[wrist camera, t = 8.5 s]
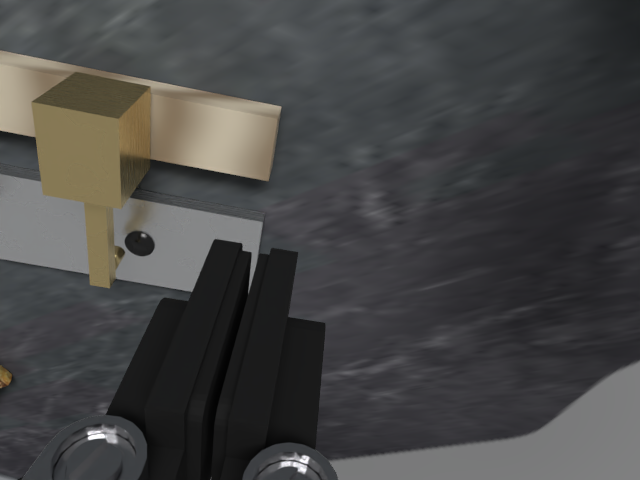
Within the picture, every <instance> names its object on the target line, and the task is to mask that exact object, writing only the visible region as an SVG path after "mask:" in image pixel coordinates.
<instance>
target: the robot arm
mask: <svg viewBox="0 0 640 480" xmlns="http://www.w3.org/2000/svg"><path fill="white" fill-rule="evenodd" d="M297 257H298V252H293V251H287V250H281V249H275V248H271V251H270V255H267V254H261V253H260V254H259V257H258V261H257V264H256V268H255V272H254V275H253V279H252V283H251V286H250V290H249V280H250V269H251V258H252V252H248V251H243V245H242V243H238V242H232V241H226V240H219V239H214V241H213V243H212V245H211V247H210V250H209V252H208V255H207V257H206V260H205V262H204V264H203V267H202V269H201V272H200V274H199V277H198V279H197V281H196V284H195V286H194V289H193V291H192V294H191V296H190V298H189V301H183V300H176V299H170V298H163V299H162V300H161V301H160V303H159V305H158V306H157V309H156V311H155V313H154V315H153V317H152V319H151V321H150V323H149V325H148V327H147V329H146V332H145V334H144V336H143V338H142V340H141V342H140V344H139V346H138V348H137V350H136V352H135V355H134V357H133V359H132V361H131V363H130V365H129V367H128V369H127V371H126V373H125V375H124V378H123V380H122V382H121V384H120V386H119V388H118V390H117V392H116V394H115V396H114V398H113V401H112V403H111V405H110V407H109V409H108V411H107V413H106V415H100V416H91V417H88V418H85V419H82V420H79V421H77V422H74V423H73V424H71V425H69V426H68V427H66V428H65V429H63V430H62V431H60V432H59V433H58V434H57V435H56V436H55V437H54V438H53V439H52V440H51V441H50V442H49V443H48V445H47V446H46V447H45V449H44V450H43V451H42V453H41V454H40V455H39V457H38V458H37V459H36V461H35V462H34V463H33V465H32V466H31V467H30V469H29V470H28V472H27V473H26V474H25V476H24V477H22V478H20V479H18V480H210V479H211V480H338V477H337V474H336V472H335V470H334V469H333V467H332V466H331V464H330V462H329V461H328V460H327V459H326V458H325V457H324V456H323V455H321V454H320V453H319V452H318V451H316V450H315V445H316V433H317V421H318V410H319V398H320V386H321V374H322V362H323V351H324V339H325V323H322V322H315V321H309V320H303V319H296V318H290V317H288V314H289V308H290V301H291V295H292V289H293V282H294V276H295V270H296V263H297ZM248 290H249V293H248Z"/></svg>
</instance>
